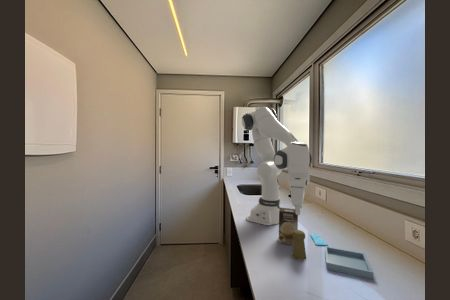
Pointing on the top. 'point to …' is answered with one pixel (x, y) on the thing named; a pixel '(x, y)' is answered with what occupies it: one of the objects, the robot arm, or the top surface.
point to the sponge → (318, 240)
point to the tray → (348, 262)
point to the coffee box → (287, 225)
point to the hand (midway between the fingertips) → (298, 211)
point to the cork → (298, 245)
